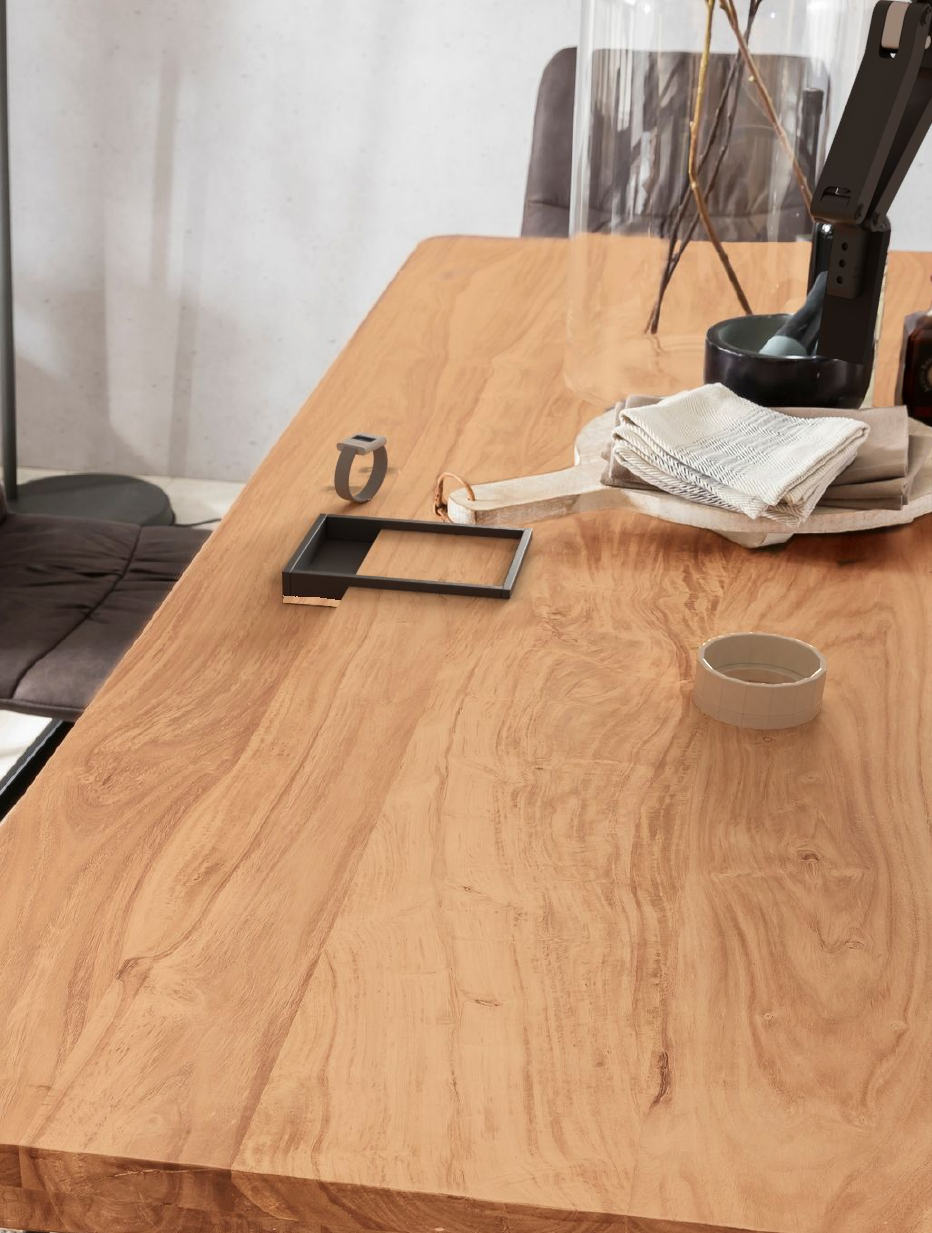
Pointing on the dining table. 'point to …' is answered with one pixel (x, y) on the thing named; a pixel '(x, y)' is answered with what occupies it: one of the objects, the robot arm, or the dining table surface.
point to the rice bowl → (765, 660)
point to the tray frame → (347, 539)
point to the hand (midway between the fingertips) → (907, 332)
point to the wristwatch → (349, 448)
